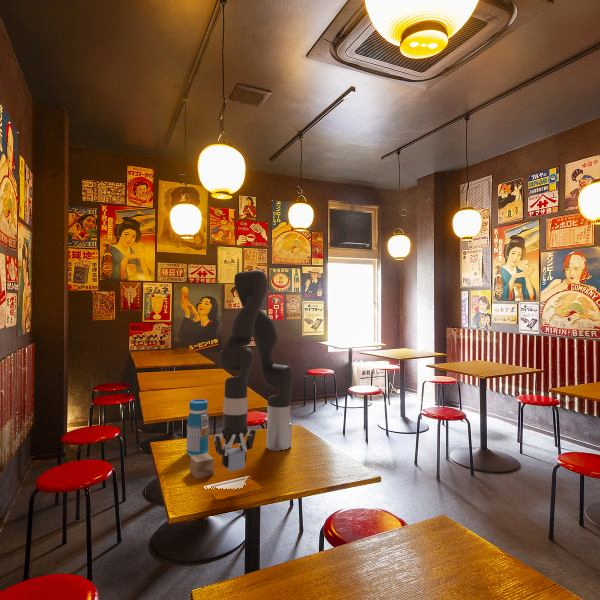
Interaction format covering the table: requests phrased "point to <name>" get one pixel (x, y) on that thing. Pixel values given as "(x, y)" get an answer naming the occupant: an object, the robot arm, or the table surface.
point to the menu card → (229, 484)
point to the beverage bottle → (197, 428)
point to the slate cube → (236, 459)
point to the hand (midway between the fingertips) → (233, 464)
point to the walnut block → (201, 465)
